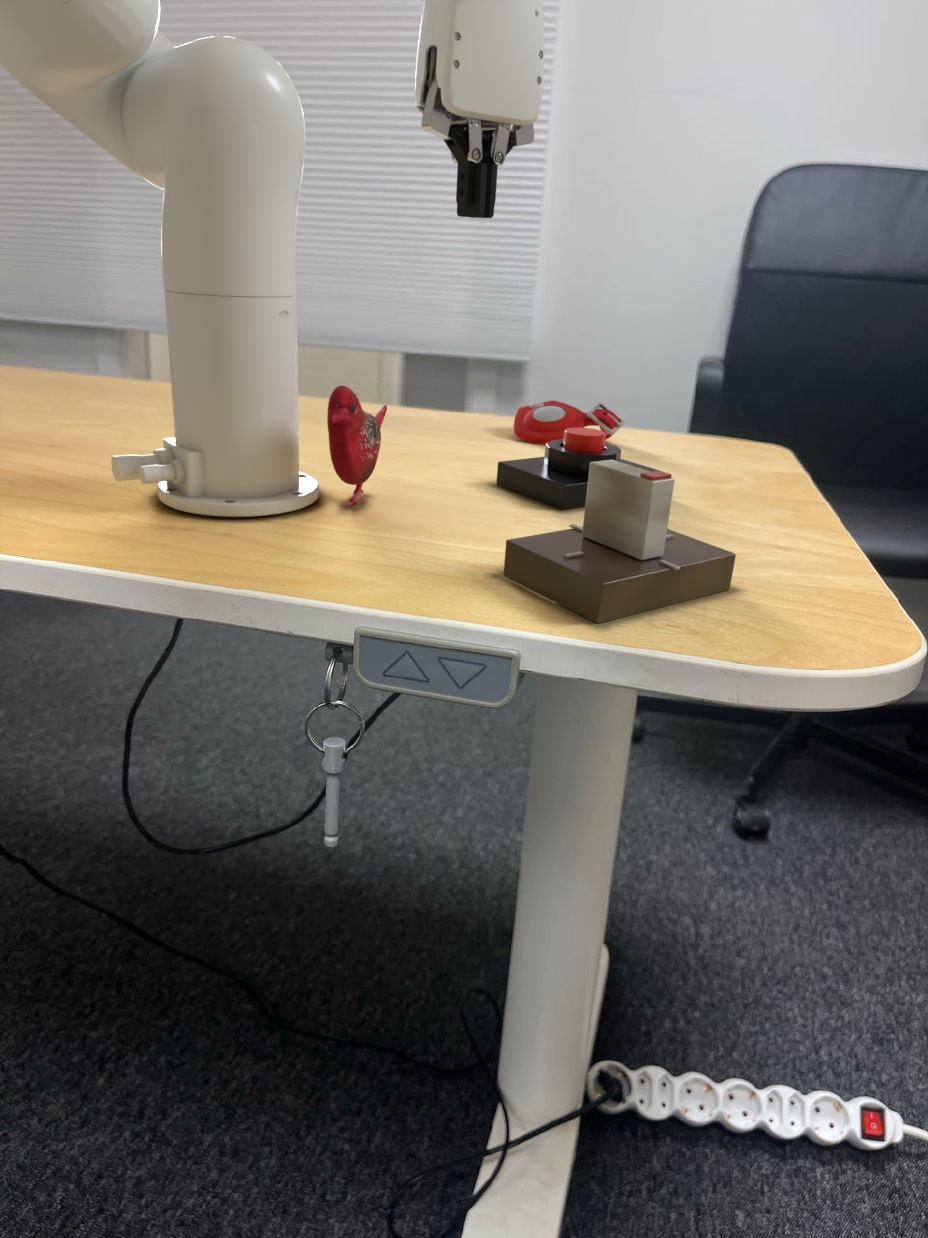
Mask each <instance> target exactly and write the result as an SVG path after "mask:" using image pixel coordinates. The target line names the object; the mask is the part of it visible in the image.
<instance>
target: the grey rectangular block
mask: <svg viewBox="0 0 928 1238" xmlns="http://www.w3.org/2000/svg"><path fill="white" fill-rule="evenodd" d="M672 476H673V475H672V473H669V472H665V471H663V472H662V470H660V471H654V472H651V471H648V470H644V469H641V468H638V467H635V466H631V465H628V464H625V463H622V462H618V461H615V460H604V461H596V462H590V468H589V477H588V486H587V495H586V503H585V507H584V514H583V521H582V527H583V530H582V536H584V537H586V538H588V539H591V540H593V541H596V542H598V543H601V544H603V545H605V546H608V547H610V548H613V549H615V550H618V551H620V552H622V553H625V554H627V555H630V556H632V557H635V558H637V559H639V560H646V559H650V558H655V557H660V556H663V553H664V547H665V540H666V534H667V529H668V526H669V521H670V520H669V518H670V513H671V506H672V501H673V495H674V488H675V478H673V477H672Z"/></svg>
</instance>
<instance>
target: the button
mask: <svg viewBox="0 0 928 1238" xmlns="http://www.w3.org/2000/svg"><path fill="white" fill-rule="evenodd" d="M600 430H601V429H595V428H589V427H584V428H568V429H565V431H564V441H563V448H566V449H569V450H575V451H581V452H601V451H604V443H606V440H605V435H606V434H605V432H603V431H600Z"/></svg>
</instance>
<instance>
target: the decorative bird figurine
mask: <svg viewBox="0 0 928 1238" xmlns="http://www.w3.org/2000/svg"><path fill="white" fill-rule="evenodd" d="M387 410H388V406H387V405H386V404H385V405H383V406H382V407H381V408H380V409H379V411H378V412H377V414H375V416H374V415H373V414H371V413H370V412H367V411H365V410H363V408H362V404H361V401H360V400H359V397H358V395H357V394H356V393H355V392H354V391H353V390H352V389H351V388H350V387H348V386H346V385H338V386H336V387H334V389H333V390H332V391H331V393H330V395H329V398H328V403H327V416H326V417H327V418H326V419H327V421H326V422H327V432H328V447H329V454H330V455H329V456H330V460H331V463H332V466H333V470H334V472H335V473H336V475H337V476H338V478H339V480H341V481H342V482H343V483H345V484H346V485H347V484H348V485H352V486H355V489H354V490H353V491H352V496H351V497H350V498H349V500H348V504H347V505H346V509H348V508H349V507H355V506H357V504H358V503H359V501H360V500H361V498H362V494H364V490H363V489H362V487H363V485H364V483H365V482H367V481H368V480H369V478H370V477H371V476H372V474H373V472H374V470H375V468H376V465H377V463H378V462H377V461H378V458H379V453H380V449H381V442H382V431H381V427H382V425H383V422H384V419H385V417H386V414H387Z"/></svg>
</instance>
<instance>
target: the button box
mask: <svg viewBox="0 0 928 1238" xmlns="http://www.w3.org/2000/svg"><path fill="white" fill-rule="evenodd" d="M563 441H564V439H559V440H552V441H550V442H548V443H546V444H545V448H544V456H537V457H529V458H519V459H511V460H500V461H498V462H497V469H496V472H497V473H496V482H495V483H496V484H495V485H496V486H497V487H500V488H502V489H505V490H508V491H510V492H511V493H515V494H517V495H520V496H523V497H525V498H528V499H530V500H533V501H534V502H535V501H536V502H538V503H541V504H543V505H545V506H548V507H551V508H553V509H556V510H559V511H561V512H564V511H570V510H576V509H582V508H583V509H584V508H585V503H586V495H587V486H588V477H589V468H590V462H596V461H604V460H615V461H618V462H622V463H625V464H628V465H631V466H635V467H638V468H641V469H644V470H648V471H651V472H654V471H662V470H659V469H656V468H653V467H649V466H646V465H643V464H640V463H637V462H633V461H630V460H627V459H623V458H622V449H621V448H620V447H619V446H617V445H615V444H611V443H608V442H605V443H604V451H601V452H581V451H575V450H569V449H566V448H563ZM662 472H664V471H662Z"/></svg>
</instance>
